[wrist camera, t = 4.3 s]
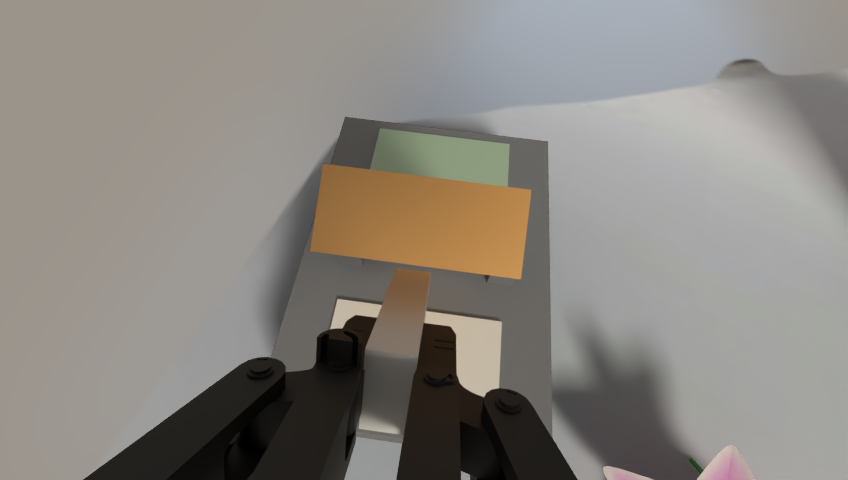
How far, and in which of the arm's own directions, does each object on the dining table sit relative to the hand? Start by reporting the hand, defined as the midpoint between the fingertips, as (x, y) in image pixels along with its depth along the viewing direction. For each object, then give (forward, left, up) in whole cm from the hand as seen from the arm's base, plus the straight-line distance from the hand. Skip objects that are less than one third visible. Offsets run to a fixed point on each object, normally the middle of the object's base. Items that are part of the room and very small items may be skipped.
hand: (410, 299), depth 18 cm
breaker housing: (-4, -4, -15) cm, 16 cm away
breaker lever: (-5, -4, -7) cm, 9 cm away
